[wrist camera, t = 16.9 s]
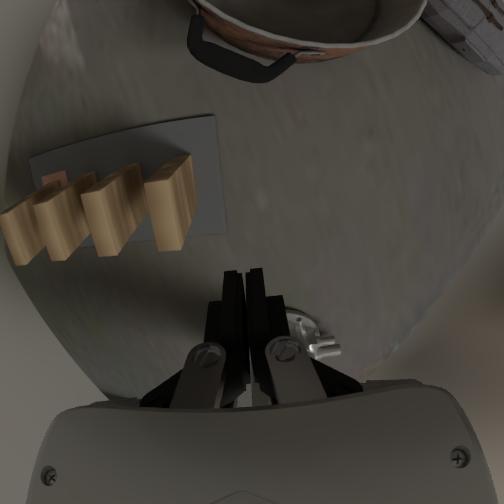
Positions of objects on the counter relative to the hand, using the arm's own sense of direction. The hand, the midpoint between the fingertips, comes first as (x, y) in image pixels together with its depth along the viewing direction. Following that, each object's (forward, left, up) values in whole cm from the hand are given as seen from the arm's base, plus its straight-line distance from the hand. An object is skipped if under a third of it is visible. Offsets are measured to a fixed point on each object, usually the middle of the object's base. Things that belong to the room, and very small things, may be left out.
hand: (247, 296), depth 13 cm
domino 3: (+13, 0, -22) cm, 25 cm away
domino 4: (+7, 0, -22) cm, 23 cm away
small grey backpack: (-29, -25, -22) cm, 44 cm away
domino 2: (+19, 0, -22) cm, 28 cm away
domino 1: (+25, 0, -22) cm, 33 cm away
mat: (+16, 0, -22) cm, 27 cm away
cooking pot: (-7, -24, -22) cm, 33 cm away
